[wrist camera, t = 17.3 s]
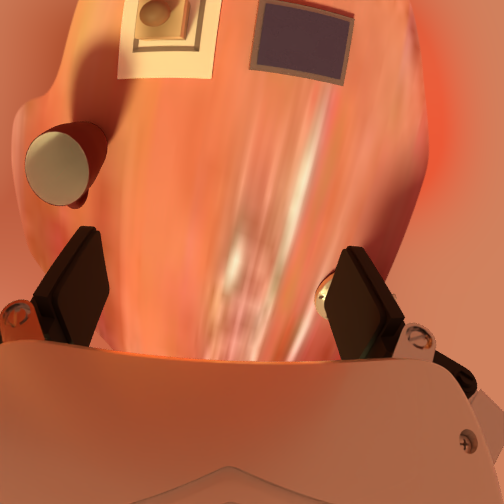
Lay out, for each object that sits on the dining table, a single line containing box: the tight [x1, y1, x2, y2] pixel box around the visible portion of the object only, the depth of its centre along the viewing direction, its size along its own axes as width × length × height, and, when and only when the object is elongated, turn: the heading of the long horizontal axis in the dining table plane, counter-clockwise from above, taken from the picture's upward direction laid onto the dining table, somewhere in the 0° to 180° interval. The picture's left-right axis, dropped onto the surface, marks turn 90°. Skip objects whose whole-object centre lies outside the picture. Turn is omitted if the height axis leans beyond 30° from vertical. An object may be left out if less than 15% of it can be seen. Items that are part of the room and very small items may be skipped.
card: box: [117, 0, 222, 79], centre depth 24 cm, size 11×14×1 cm
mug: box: [25, 122, 107, 209], centre depth 28 cm, size 11×8×10 cm
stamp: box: [134, 0, 190, 41], centre depth 21 cm, size 4×4×9 cm
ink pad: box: [249, 0, 355, 86], centre depth 27 cm, size 11×9×2 cm
